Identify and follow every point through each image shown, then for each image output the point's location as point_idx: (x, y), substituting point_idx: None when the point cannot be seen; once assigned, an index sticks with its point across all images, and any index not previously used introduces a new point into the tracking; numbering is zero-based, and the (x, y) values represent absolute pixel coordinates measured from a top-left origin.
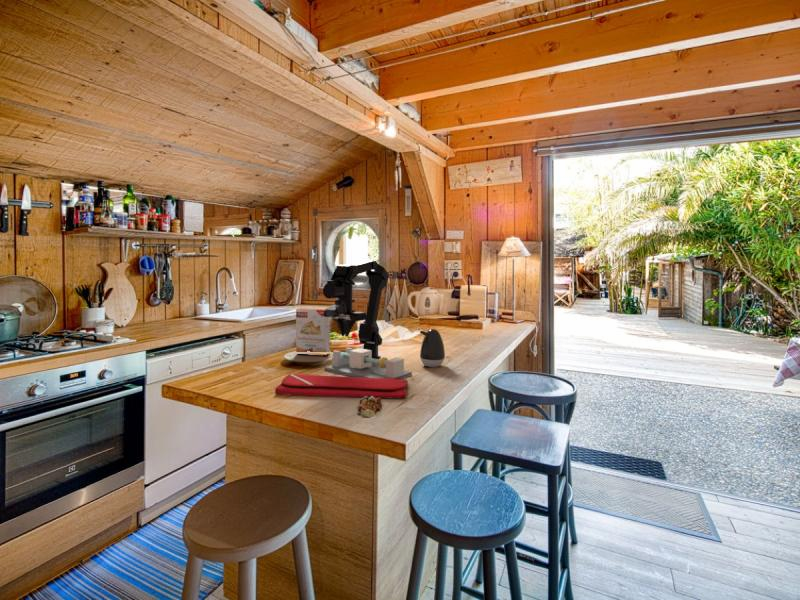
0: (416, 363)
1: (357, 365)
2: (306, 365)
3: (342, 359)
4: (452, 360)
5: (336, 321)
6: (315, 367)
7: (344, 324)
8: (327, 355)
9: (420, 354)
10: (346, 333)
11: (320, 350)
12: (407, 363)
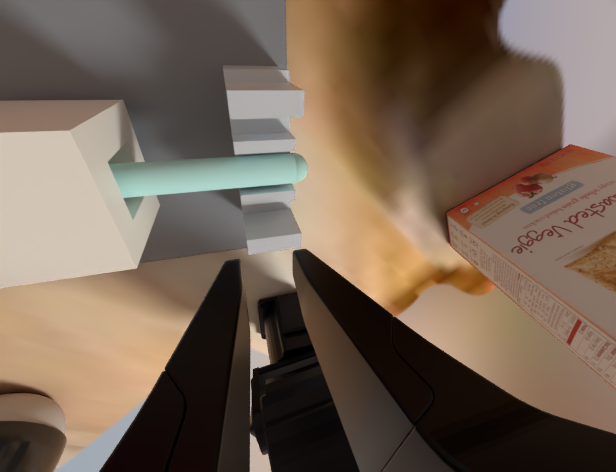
0: (95, 382)
1: (9, 104)
2: (452, 7)
3: (231, 129)
4: (69, 452)
5: (596, 454)
6: (377, 5)
7: (362, 440)
8: (446, 227)
9: (3, 438)
10: (208, 294)
11: (485, 212)
12: (117, 363)
